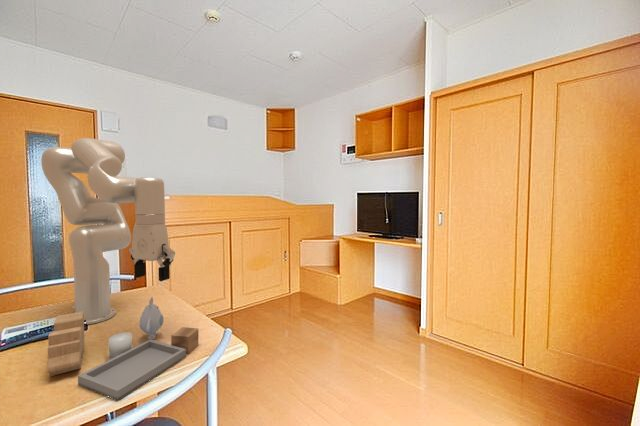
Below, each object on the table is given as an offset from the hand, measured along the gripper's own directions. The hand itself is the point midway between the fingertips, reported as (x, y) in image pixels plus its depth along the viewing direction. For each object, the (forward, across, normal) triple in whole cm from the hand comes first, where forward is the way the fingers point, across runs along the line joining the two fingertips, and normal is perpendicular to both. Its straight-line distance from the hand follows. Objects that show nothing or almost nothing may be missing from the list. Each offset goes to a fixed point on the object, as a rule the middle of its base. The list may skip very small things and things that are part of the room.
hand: (152, 278), depth 86 cm
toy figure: (+18, -1, 0) cm, 18 cm away
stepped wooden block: (+18, -9, -17) cm, 27 cm away
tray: (+18, +10, -13) cm, 24 cm away
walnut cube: (+18, +13, -1) cm, 23 cm away
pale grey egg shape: (+18, 0, -10) cm, 21 cm away
